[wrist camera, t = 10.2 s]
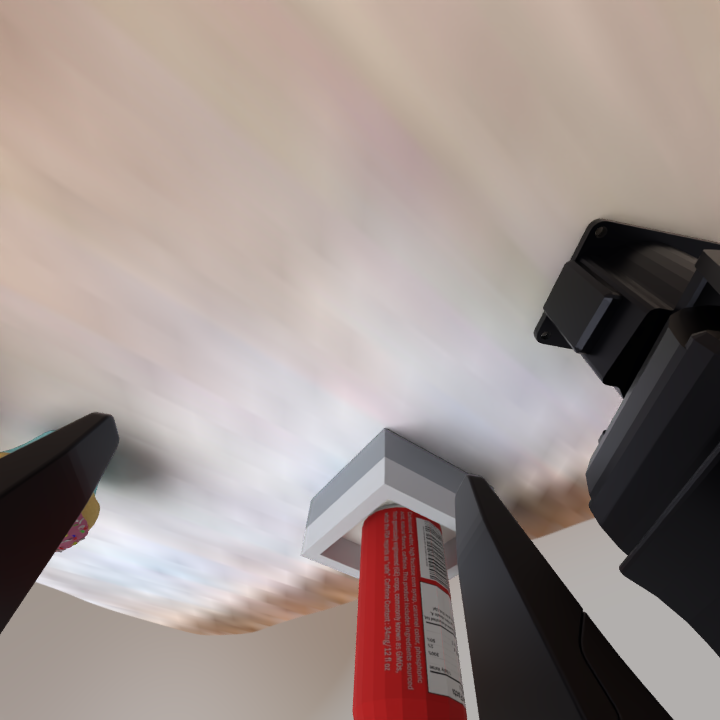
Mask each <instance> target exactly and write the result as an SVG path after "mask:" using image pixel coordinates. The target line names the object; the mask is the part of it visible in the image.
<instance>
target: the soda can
mask: <svg viewBox="0 0 720 720" xmlns="http://www.w3.org/2000/svg"><path fill="white" fill-rule="evenodd" d="M355 657H356V658H355V675H354V697H353V717H354V720H467V714H466V706H465V699H464V691H463V685H462V677H461V669H460V663H459V654H458V647H457V640H456V632H455V625H454V618H453V610H452V603H451V595H450V589H449V581H448V573H447V566H446V559H445V551H444V544H443V536H442V529H441V526H440V524H439V523H437V522H435V521H433V520H431V519H429V518H427V517H424V516H422V515H420V514H418V513H416V512H414V511H412V510H410V509H408V508H406V507H404V506H402V505H400V504H394V505H388V506H385V507H382V508H380V509H378V510H376V511H375V512H374V513H373V514H372V515H370V516H368V518H367V519H366V520H365V521H364V523H363V526H362V537H361V557H360V577H359V596H358V616H357V636H356V656H355Z"/></svg>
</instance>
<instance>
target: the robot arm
mask: <svg viewBox="0 0 720 720" xmlns="http://www.w3.org/2000/svg"><path fill="white" fill-rule="evenodd" d="M600 227H603V231H602V232H601V233H600V234H599V235H595V232H596V230H597V229H598V228H600ZM543 309H544V313H543V315H542V317H541V319H540V321H539V322H538V324H537V326H536V328H535V330H534V337H535V338H536V340H537V341H538V342H539V343H542V344H547V345H552V346H558V347H563V348H568V349H573V350H574V351H575V352H576V353H579V354H581V356H582V357H583V358H584V359H585V361H586V362H587V363H588V364H589V366H590V367H591V368H592V370H593V371H594V372H595V373H596V375H597V376H598V377H599V379H600V380H601V381H602V382H603V384H605V385H609V386H613V387H614V388H615V389H616V390H617V392H618V393H619V394H620V395H621V397H622V398H623V401H622V403H621V405H620V407H619V408H618V410H617V412H616V414H615V416H614V417H613V419H612V421H611V423H610V425H609V426H608V428H607V430H604V431H603V433H602V434H601V436H600V438H599V444H598V446H597V448H596V450H595V452H594V453H593V455H592V457H591V459H590V462H589V465H588V468H587V471H586V479H587V484H588V490H589V495H590V497H591V500H590V502H589V508H590V510H591V512H592V513H593V515H594V517H595V518H596V520H597V522H598V523H599V525H600V526H601V527H602V529H603V530H604V531H605V532H606V533H607V534H608V536H609V537H610V538H611V539H612V540H613V541H614V542H615V543H616V545H617V546H618V547H619V548H620V549H621V550H622V551H623V552H624V553H626V554H627V555H628V556H627V557H626V559H625V560H624V561H623V562H622V563H621V565H620V566H619V570H620V572H621V573H622V574H623V575H624V576H625V577H627V578H628V579H630V580H632V581H633V582H635V583H636V584H638V585H639V586H641V587H643V588H644V589H646V590H647V591H649V592H651V593H652V594H654V595H655V596H657V597H658V598H659V599H660V600H662V601H663V602H664V603H665V604H666V605H667V606H669V607H670V608H671V609H672V610H673V611H675V612H676V613H677V614H678V615H679V616H680V617H682V618H683V619H684V620H685V621H686V622H688V624H689V625H690V626H691V627H692V628H693V629H694V630H695V631H696V632H697V633H698V634H699V635H700V636H701V637H702V638H703V639H704V640H705V641H706V642H707V643H708V645H709V646H710V647H711V648H712V649H713V650H714V651H715V652H716V654H717V655H718V656H719V657H720V244H719V243H717V242H712V241H707V240H703V239H698V238H693V237H688V236H683V235H678V234H674V233H669V232H664V231H659V230H654V229H649V228H645V227H640V226H635V225H630V224H625V223H620V222H616V221H611V220H606V219H597V220H594V221H593V222H591V223H590V224H589V225H588V227H587V228H586V230H585V232H584V234H583V236H582V238H581V240H580V242H579V244H578V246H577V248H576V250H575V252H574V254H573V256H572V258H571V260H570V261H569V262H567V263H566V264H565V265H564V267H563V269H562V271H561V273H560V275H559V277H558V279H557V281H556V283H555V285H554V287H553V289H552V291H551V293H550V295H549V297H548V299H547V301H546V303H545V305H544V307H543ZM544 332H548V333H547V335H545V336H541V335H542V333H544ZM118 443H119V435H118V431H117V428H116V424H115V420H114V417H113V416H112V415H110V414H105V413H99V412H94V413H91V414H88V415H86V416H84V417H82V418H80V419H78V420H76V421H74V422H72V423H70V424H68V425H66V426H64V427H62V428H60V429H58V430H56V431H54V432H52V433H50V434H48V435H46V436H44V437H42V438H40V439H38V440H36V441H34V442H32V443H30V444H28V445H26V446H24V447H22V448H20V449H18V450H16V451H14V452H11V453H9V454H7V455H5V456H3V457H1V458H0V634H1V632H2V631H3V629H4V628H5V626H6V625H7V623H8V622H9V620H10V619H11V617H12V616H13V614H14V613H15V611H16V610H17V608H18V607H19V605H20V604H21V602H22V601H23V599H24V598H25V596H26V595H27V593H28V592H29V590H30V589H31V587H32V586H33V584H34V583H35V581H36V580H37V578H38V577H39V575H40V574H41V572H42V571H43V569H44V568H45V566H46V565H47V563H48V562H49V560H50V559H51V557H52V556H53V554H54V553H55V551H56V550H57V548H58V547H59V545H60V544H61V542H62V541H63V539H64V538H65V536H66V535H67V533H68V532H69V530H70V529H71V527H72V526H73V524H74V523H75V521H76V520H77V518H78V517H79V515H80V514H81V512H82V511H83V509H84V508H85V506H86V504H87V503H88V501H89V499H90V498H91V496H92V494H93V492H94V490H95V488H96V486H97V485H98V483H99V481H100V479H101V477H102V475H103V473H104V471H105V469H106V467H107V465H108V464H109V462H110V460H111V458H112V456H113V454H114V452H115V450H116V448H117V446H118ZM455 524H456V552H457V565H458V573H459V580H460V587H461V594H462V601H463V607H464V615H465V622H466V629H467V635H468V643H469V649H470V656H471V664H472V671H473V678H474V685H475V692H476V698H477V706H478V712H479V720H673V718H672V717H671V716H670V715H669V714H668V713H667V711H666V710H665V709H664V708H663V707H662V706H661V705H660V704H659V702H658V701H657V700H656V699H655V697H654V696H653V695H652V694H651V693H650V692H649V691H648V689H647V688H646V687H645V686H644V685H643V684H642V682H641V681H640V680H639V679H638V678H637V676H636V675H635V674H634V673H633V672H632V670H631V669H630V668H629V667H628V666H627V665H626V663H625V662H624V661H623V660H622V658H620V656H619V655H618V653H617V652H616V651H615V650H614V648H613V647H612V646H611V645H610V643H609V642H608V641H607V640H606V638H605V637H604V636H603V634H602V633H601V632H600V631H599V629H598V628H597V627H596V625H595V624H594V623H593V621H592V620H591V619H590V617H589V616H588V615H587V613H585V612H583V608H582V607H581V606H580V604H579V603H578V602H577V600H576V599H575V598H574V596H573V595H572V594H571V592H570V591H569V590H568V589H567V587H566V586H565V585H564V583H563V582H562V581H561V579H560V578H559V577H558V575H557V574H556V573H555V571H554V570H553V569H552V567H551V566H550V565H549V563H548V562H547V561H546V559H545V558H544V557H543V555H542V554H541V553H540V552H539V550H538V549H537V548H536V547H535V545H534V544H533V542H532V541H531V540H530V538H529V537H528V536H527V534H526V533H525V532H524V530H523V529H522V528H521V526H520V525H519V524H518V522H517V521H516V520H515V518H514V517H513V516H512V515H511V513H510V512H509V511H508V509H507V508H506V507H505V505H504V504H503V503H502V501H501V500H500V499H499V497H498V496H497V495H496V493H495V492H494V491H493V489H492V488H491V487H490V485H489V484H488V483H487V482H486V480H485V479H484V478H483V477H481V476H477V475H471V474H467V475H466V476H465V477H464V479H463V481H462V483H461V484H460V486H459V488H458V490H457V492H456V495H455Z"/></svg>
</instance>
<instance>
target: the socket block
mask: <svg viewBox="0 0 720 720" xmlns="http://www.w3.org/2000/svg"><path fill="white" fill-rule="evenodd" d="M467 474H468V473H466V472H464V471H462V470H461V469H459V468H457V467H455V466H453V465H451V464H450V463H448V462H446V461H444V460H442V459H440V458H439V457H437V456H435V455H433V454H431V453H430V452H428V451H426V450H424V449H422V448H420V447H419V446H417V445H415V444H413V443H411V442H409V441H408V440H406V439H404V438H402V437H400V436H398V435H397V434H395V433H393V432H391V431H389V430H388V429H386V428H384V429H383V430H382V431H381V432H380V433H379V434H378V435H377V436H376V437H375V438H374V439H373V440H372V441H371V442H370V443H369V444H368V445H367V446H366V447H365V448H364V449H363V450H362V451H361V452H360V453H359V454H358V455H357V456H356V457H355V458H354V459H353V460H352V461H351V462H350V463H349V464H348V465H346V466H345V467H344V468H343V469H342V470H341V471H340V472H339V473H338V474H337V475H336V476H335V477H334V478H333V479H332V480H331V481H330V482H329V483H328V484H327V485H326V486H325V487H324V488H323V489H322V490H321V491H320V492H319V493H318V494H317V495H316V496H315V497H314V498H313V499H312V500H311V503H310V509H309V514H308V519H307V524H306V529H305V534H304V540H303V545H302V550H301V556H303V557H305V558H308V559H310V560H313V561H315V562H318V563H320V564H323V565H325V566H328V567H330V568H333V569H335V570H338V571H340V572H343V573H345V574H348V575H350V576H353V577H355V578H358V579H359V577H360V557H361V537H362V526H363V523H364V521H365V520H366V519H367V518H368V516H370V515H372V514H373V513H374V512H375V511H376V510H378V509H380V508H382V507H385V506H388V505H394V504H400V505H402V506H404V507H406V508H408V509H410V510H412V511H414V512H416V513H418V514H420V515H422V516H424V517H427V518H429V519H431V520H433V521H435V522H437V523H439V524H440V526H441V529H442V536H443V544H444V551H445V559H446V566H447V573H448V580H450V579H451V578H453V577H455V576H457V575H459V573H458V565H457V552H456V524H455V495H456V492H457V490H458V488H459V486H460V484H461V483H462V481H463V479H464V477H465V476H466V475H467ZM490 487H491V488H492V489H493V491H494V488H493V487H492V486H490Z"/></svg>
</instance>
